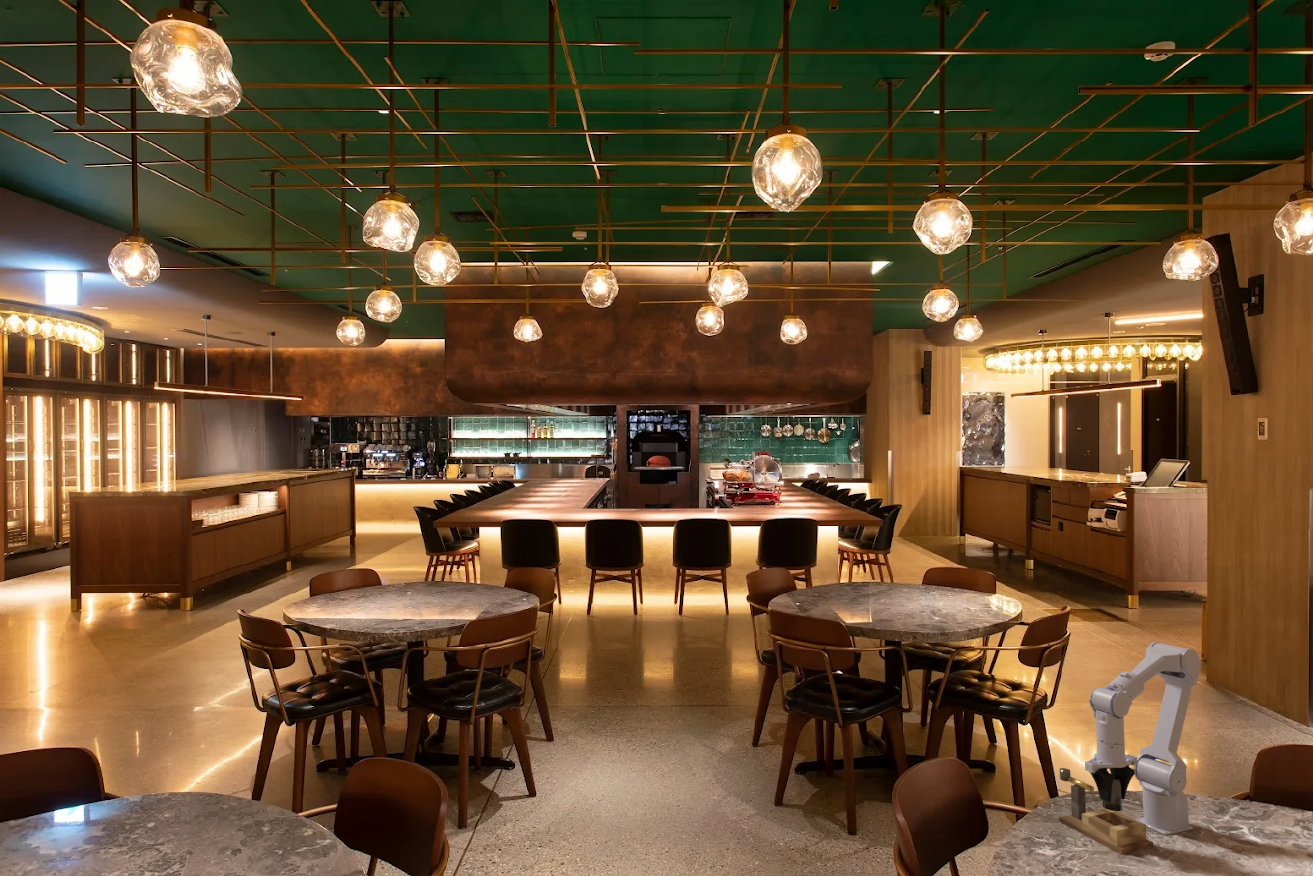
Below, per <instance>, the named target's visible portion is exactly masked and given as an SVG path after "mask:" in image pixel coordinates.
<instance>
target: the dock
mask: <svg viewBox="0 0 1313 876" xmlns="http://www.w3.org/2000/svg"><path fill="white" fill-rule="evenodd" d="M1070 796H1071V797H1070V798H1071V799H1070V800H1071V802H1070V803H1071V814H1069V815H1063V816H1059V817H1058V822H1059V823H1061V824H1062V825H1065V826H1066V827H1069V828H1070V829H1072V830H1075V831H1077V832H1078V833H1080V834H1082V835H1084V836H1086V837H1088V838H1090V839H1092V840H1094V841H1096V842H1097V843H1099V844H1101V845H1104V846H1105V847H1107V848H1109V849H1111V850H1112V851H1115V852H1117V853H1119V854H1121V855H1123V854H1128V853H1133V852H1138V851H1143V850H1147V849H1150V848H1154V842H1153V841H1152V840H1149V839H1148V838H1147V826H1146V824H1144V823H1141V822H1139V821H1137V820H1135V819H1136V818H1135V819H1134V818H1133V817H1130V816H1128V815H1127V814H1124V813H1122V812H1121V811H1111V810H1108V809H1105V808H1103V809H1102V808H1101V809H1097V810H1094V811H1093V810H1092V811H1087V810H1086V809H1087V808H1086V807H1087V805H1086V802H1087V801H1086V789H1084V788H1081V787H1079V786H1077V785H1075V784H1072V785H1070Z"/></svg>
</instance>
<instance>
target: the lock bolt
mask: <svg viewBox="0 0 1313 876" xmlns="http://www.w3.org/2000/svg"><path fill="white" fill-rule="evenodd" d="M1059 779H1060V781H1063V782H1069V783H1071V784H1072V785H1077V786H1079V787H1081V788H1084V789H1085V791H1087V792H1090V793H1093V792H1094V791H1095V787H1094V786H1093V785H1091V784H1089V783H1086V782H1084V781H1082V780H1079V779H1078V778H1075V777H1073V776H1071V770H1070V769H1069V768H1066V767H1060V768H1059Z"/></svg>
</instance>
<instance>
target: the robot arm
mask: <svg viewBox="0 0 1313 876" xmlns="http://www.w3.org/2000/svg"><path fill="white" fill-rule="evenodd" d="M1201 667H1202V662H1201V659H1200V657H1199V654H1198V652H1197V651H1196V650H1195V649H1193V648H1185V647H1182V646H1181V647H1180V646H1175V645H1170V644H1166V643H1163V642H1162V643H1161V642H1159V641H1154V642H1151V643H1150V644H1149V646H1147V647H1146V648H1145V657H1144V658H1143V659H1142V660H1140V662H1139V663H1138V664H1137V665H1136V666H1135V667H1134V669H1132V670H1131V671H1121V672H1120V673H1119V675H1117V676H1116V677H1115V678H1114V679H1112V680H1111V681H1110V682H1109V683H1108V684H1107V685H1106V686H1104V687H1103V686H1102V687H1101V686H1100V687H1097V688H1094V689H1093V690H1092V692H1091V693H1090V698H1089V699H1088V701H1089V706H1090V708H1091V709H1092V716H1093V717H1094V719H1095V729H1096V732H1095V733H1096V753H1094V754H1093V758H1092V759H1090V760H1088V761H1087V760H1086V761H1084V770H1085V771H1086V772H1089V774H1090V775H1091V777H1092V778H1093V781H1094V783H1095V785H1096V788H1097V791H1098V794H1099V798H1100V799H1101V801H1102V800H1104V801H1106V802H1110V801H1111V789H1112V783H1113V780H1114V778H1115V776H1118V777H1120V778H1121V795H1122V800H1125V799H1126V794H1127V791H1128V788H1129V784H1130V782H1131V780H1132V778H1133V777H1135V779H1136V780H1138V783H1139V784H1138V785H1140V786H1142V807H1143V809H1142V810H1143V817H1140V818H1139V817H1138V818H1135V820H1137V821H1139V822H1141V823H1144V824H1146V828H1149V829H1151V830H1153V831H1156V832H1157V833H1160V834H1162V835H1165V836H1168V835H1169V836H1170V835H1174V834H1177V833H1182V832H1186V831H1191V830H1193V826H1190V823H1189V822H1190V820H1189V801H1188V798H1187V796H1186V794H1185V793H1184V790H1185V789H1186V786H1187V768H1188V767H1187V766H1188V765H1187V764H1186V763H1185V761H1184V760H1183V759H1182V758H1181V757H1180V756H1179V755H1178V750H1179V746H1180V742H1181V738H1182V734H1183V733H1182V732H1183V730H1184V729H1183V728H1184V725H1185V720H1186V716H1187V711H1188V706H1189V703H1190V699H1191V694H1192V690H1193V686H1196V685H1197V684H1198V683H1197V682H1198V679H1199V674H1200V670H1201ZM1157 675H1158V677H1160V678H1161V679H1162V680H1163V681H1164V682H1165V689H1164V694H1163V696H1162V702H1161V705H1160V709H1159V714H1158V718H1157V722H1156V726H1155V730H1154V734H1153V738H1152V743H1151V744H1150V745H1147V746H1144V747H1142V748H1140V749H1139V752H1138V753H1139V754H1138V756H1135V755H1133V754H1130V753H1129V754H1126V745H1125V744H1126V743H1125V741H1126V740H1125V717H1126V716H1127V715H1128V713H1129V712H1130V711H1129V710H1130V709H1131V708H1130V707H1131V705H1132V704H1133V701H1134V700H1135V699H1137V697H1138V696H1140V695H1141V694H1142V693H1143V692H1144V691H1145V685H1144V684H1145V683H1147V682H1149V681H1150V680H1151V679H1152V678H1154V677H1155V676H1157ZM1130 766H1132V767H1130Z"/></svg>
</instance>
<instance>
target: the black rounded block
mask: <svg viewBox="0 0 1313 876" xmlns="http://www.w3.org/2000/svg"><path fill="white" fill-rule="evenodd" d="M1101 801H1102V803H1101V804H1102V805H1101V806H1102V808H1103V809H1108V810H1111V811H1118V812H1121V811H1122V810H1123V799H1122V795H1121V778H1120V777H1118V776H1115V778H1114V780H1113V783H1112V789H1111V801H1110V802H1106V801H1104V800H1102V799H1101Z"/></svg>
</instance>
